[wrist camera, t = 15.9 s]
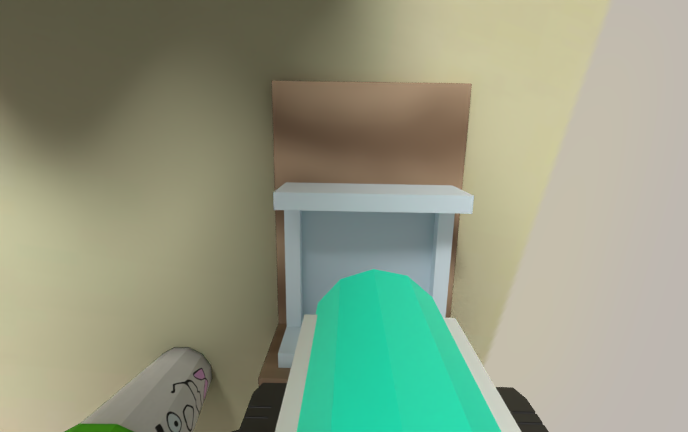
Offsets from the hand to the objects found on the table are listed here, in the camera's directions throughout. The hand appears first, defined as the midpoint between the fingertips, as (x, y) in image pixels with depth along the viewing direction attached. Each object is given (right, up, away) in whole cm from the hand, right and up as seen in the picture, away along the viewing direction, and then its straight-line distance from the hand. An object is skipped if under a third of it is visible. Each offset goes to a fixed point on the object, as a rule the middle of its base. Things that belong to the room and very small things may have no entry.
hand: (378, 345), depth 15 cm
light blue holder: (0, +2, +10) cm, 11 cm away
